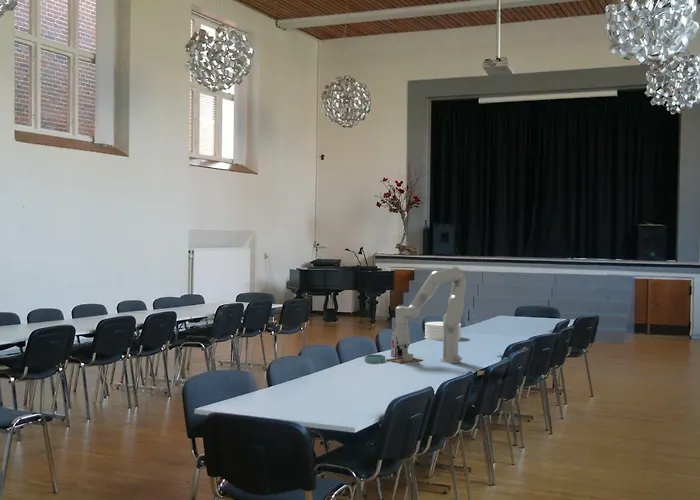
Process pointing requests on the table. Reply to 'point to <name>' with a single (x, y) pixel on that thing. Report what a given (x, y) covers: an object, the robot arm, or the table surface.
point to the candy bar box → (394, 347)
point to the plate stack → (436, 330)
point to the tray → (400, 360)
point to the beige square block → (407, 357)
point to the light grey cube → (404, 350)
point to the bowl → (374, 358)
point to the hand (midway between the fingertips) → (402, 354)
